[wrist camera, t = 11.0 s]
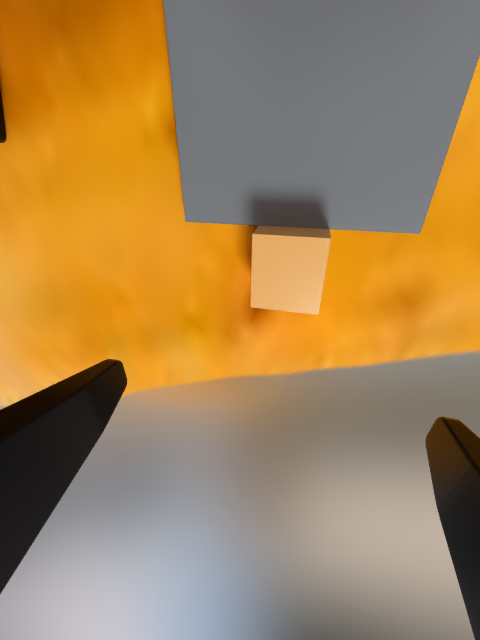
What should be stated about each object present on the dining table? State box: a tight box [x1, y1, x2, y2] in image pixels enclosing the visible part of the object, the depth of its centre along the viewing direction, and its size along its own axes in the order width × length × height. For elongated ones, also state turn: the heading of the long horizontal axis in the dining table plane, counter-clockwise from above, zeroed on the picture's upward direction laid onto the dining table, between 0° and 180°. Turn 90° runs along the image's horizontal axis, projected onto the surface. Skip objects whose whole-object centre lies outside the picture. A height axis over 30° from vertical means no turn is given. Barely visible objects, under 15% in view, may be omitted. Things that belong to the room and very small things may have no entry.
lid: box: [163, 0, 480, 315], centre depth 13 cm, size 13×17×3 cm
